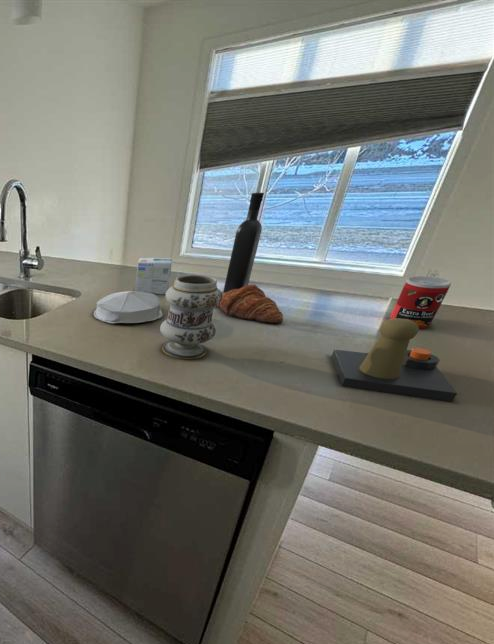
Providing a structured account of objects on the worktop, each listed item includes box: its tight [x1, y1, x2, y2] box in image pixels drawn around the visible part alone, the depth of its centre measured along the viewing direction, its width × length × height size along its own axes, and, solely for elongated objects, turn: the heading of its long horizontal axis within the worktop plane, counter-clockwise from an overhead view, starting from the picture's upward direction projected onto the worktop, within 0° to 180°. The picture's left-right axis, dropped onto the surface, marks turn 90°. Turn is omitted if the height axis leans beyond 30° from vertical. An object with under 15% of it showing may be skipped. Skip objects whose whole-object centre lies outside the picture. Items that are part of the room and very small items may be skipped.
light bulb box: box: [134, 257, 173, 295], centre depth 137 cm, size 11×7×11 cm, turn 66°
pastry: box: [215, 284, 284, 325], centre depth 115 cm, size 17×15×8 cm
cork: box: [360, 318, 420, 379], centre depth 79 cm, size 6×6×11 cm
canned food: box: [389, 276, 452, 330], centre depth 100 cm, size 8×8×11 cm
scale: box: [331, 349, 458, 403], centre depth 82 cm, size 16×14×4 cm
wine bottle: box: [222, 192, 265, 293], centre depth 123 cm, size 6×6×30 cm
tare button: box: [409, 347, 432, 360], centre depth 82 cm, size 3×3×2 cm
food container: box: [93, 290, 163, 324], centre depth 122 cm, size 20×20×7 cm
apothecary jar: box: [159, 274, 222, 360], centre depth 96 cm, size 12×12×18 cm
